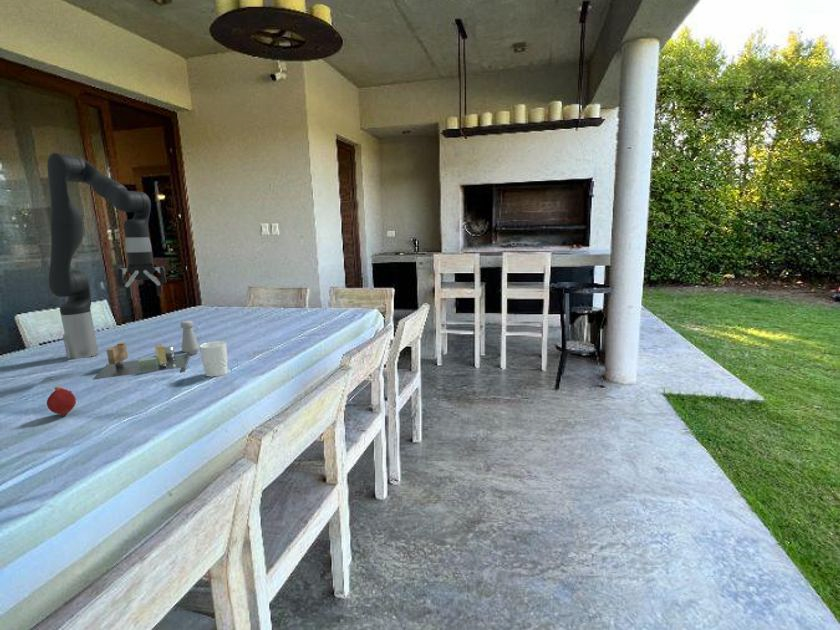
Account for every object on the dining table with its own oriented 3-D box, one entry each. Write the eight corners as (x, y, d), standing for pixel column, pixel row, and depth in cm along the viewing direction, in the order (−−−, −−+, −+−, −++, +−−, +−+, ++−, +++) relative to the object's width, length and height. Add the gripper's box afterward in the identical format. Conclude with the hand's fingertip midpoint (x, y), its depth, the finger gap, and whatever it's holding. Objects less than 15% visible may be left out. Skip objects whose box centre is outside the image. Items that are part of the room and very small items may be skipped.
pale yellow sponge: (157, 364, 152) (153, 344, 150) (164, 363, 153) (161, 342, 152) (160, 369, 146) (156, 348, 145) (168, 367, 148) (165, 346, 146)
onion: (60, 411, 118) (54, 383, 117) (83, 409, 119) (77, 381, 117) (44, 420, 113) (38, 391, 111) (68, 419, 113) (62, 389, 112)
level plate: (93, 384, 139) (89, 367, 138) (107, 368, 156) (105, 353, 155) (185, 371, 149) (182, 355, 148) (190, 357, 165) (187, 343, 164)
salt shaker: (192, 356, 167) (187, 323, 164) (179, 356, 168) (174, 322, 165) (202, 352, 172) (198, 319, 170) (189, 351, 173) (185, 319, 171)
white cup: (234, 370, 148) (231, 341, 146) (217, 378, 141) (213, 348, 139) (216, 369, 150) (212, 340, 148) (198, 376, 143) (193, 346, 141)
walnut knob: (116, 369, 148) (113, 348, 147) (109, 369, 148) (105, 348, 147) (129, 362, 155) (125, 342, 154) (122, 363, 155) (118, 343, 154)
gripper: (163, 249, 160) (168, 293, 163) (116, 250, 154) (122, 296, 157) (161, 250, 153) (167, 296, 156) (112, 251, 147) (119, 299, 150)
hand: (145, 296), depth 157 cm, fingers open, 8 cm apart
